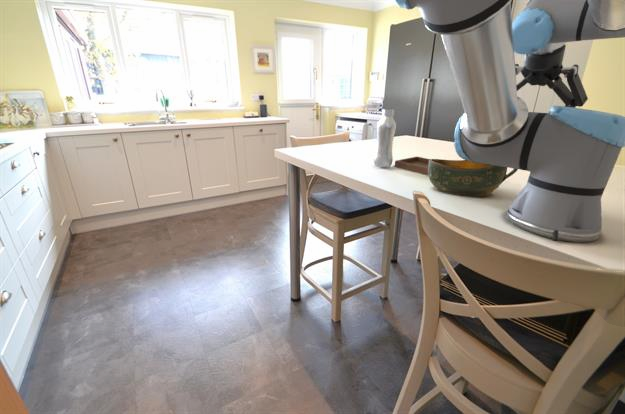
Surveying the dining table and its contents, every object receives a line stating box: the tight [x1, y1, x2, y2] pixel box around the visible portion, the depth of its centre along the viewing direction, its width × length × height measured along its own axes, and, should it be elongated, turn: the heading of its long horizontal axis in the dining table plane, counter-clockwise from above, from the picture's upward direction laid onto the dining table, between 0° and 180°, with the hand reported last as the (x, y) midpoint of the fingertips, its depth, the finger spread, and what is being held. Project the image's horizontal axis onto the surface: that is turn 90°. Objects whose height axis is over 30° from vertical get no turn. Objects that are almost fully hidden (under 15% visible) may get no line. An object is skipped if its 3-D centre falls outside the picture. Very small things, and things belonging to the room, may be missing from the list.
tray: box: [394, 156, 431, 176], centre depth 100 cm, size 14×22×2 cm, turn 37°
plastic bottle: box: [373, 108, 397, 168], centre depth 100 cm, size 6×7×20 cm
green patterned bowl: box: [427, 158, 519, 198], centre depth 77 cm, size 13×20×10 cm, turn 49°
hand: (533, 122), depth 81 cm, fingers open, 13 cm apart
